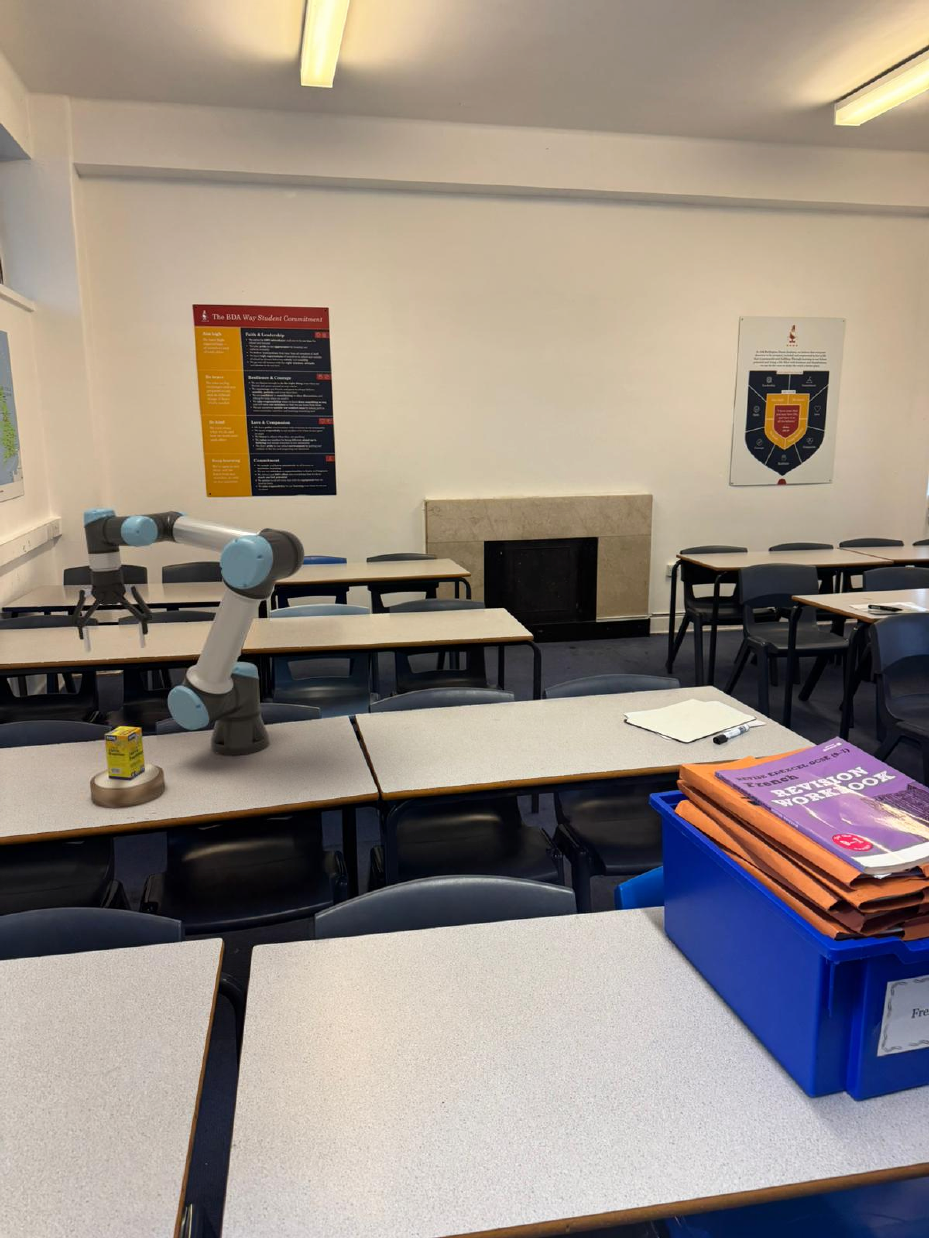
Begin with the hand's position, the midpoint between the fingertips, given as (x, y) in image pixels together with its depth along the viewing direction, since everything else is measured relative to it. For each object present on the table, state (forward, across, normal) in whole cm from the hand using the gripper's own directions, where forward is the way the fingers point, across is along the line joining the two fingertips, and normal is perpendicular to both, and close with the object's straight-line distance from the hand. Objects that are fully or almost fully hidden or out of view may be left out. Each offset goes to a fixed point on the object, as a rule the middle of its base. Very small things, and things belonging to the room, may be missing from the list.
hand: (116, 649), depth 213 cm
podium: (+29, -5, +30) cm, 42 cm away
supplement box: (+24, -5, +30) cm, 39 cm away
